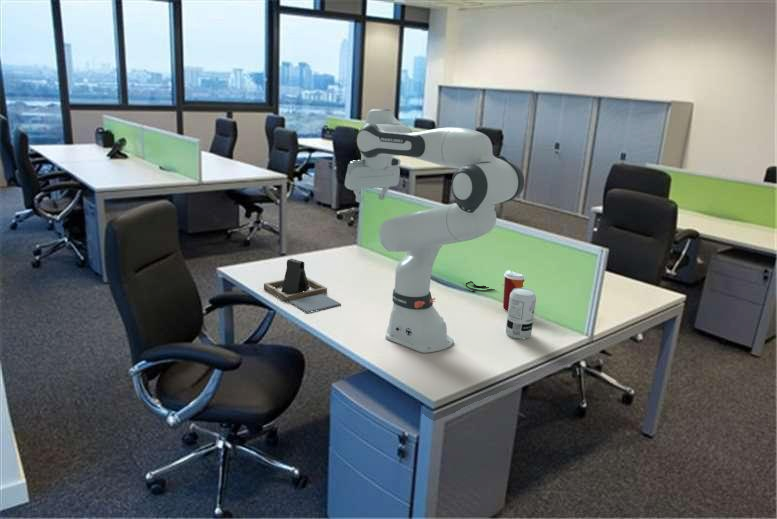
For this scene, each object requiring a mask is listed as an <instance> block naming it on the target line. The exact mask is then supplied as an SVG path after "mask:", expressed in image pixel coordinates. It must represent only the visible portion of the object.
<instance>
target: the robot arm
mask: <svg viewBox="0 0 777 519" xmlns="http://www.w3.org/2000/svg"><path fill="white" fill-rule="evenodd" d="M355 139H356V142H355V143H356V146H357V149H358V150H359V152H360V153H361V156H360V158H361V159H358V160H351V161H350V162H349V163H348V165H347V169H346V173H345V179H344V187H345V188H346V189H348V190H350V191H353V194H354V195H355V202H357V203H362V202H363V199H364V198H363V196H361V194H360V193H361V192H362V190H366V189H367V190H368V189H378V188H379V189H380V188H381V191H380V193H378V197H377V198H378V200H380V201H383V200H385V199H386V195H387V193H388V192H389V189H390V188H391V187H396V186H398V184H399V182H400V173H401V169H400V167H399V166H401V159H399V158H398V156H399V157H400V156H402V157H409V158H413V159H417V160H421V161H424V162H428V163H431V164H435V165H439V166H442V167H447V168H451V169H452V168H453V169H457V170H456V171H455V172H454V173H453V175H452V179H451V184H450V186H451V193H452V195H453V199H454V201H455V203H454V202H453V203H450V204H449V203H448V204H447V205H446V204H445V205H442V206H438V207H433V208H429V209H424V210H420V211H414V212H409V213H404V214H401V215H397V216H394V217H390V218H388V219H386V220H384V221H383V222H382V223H381V224H380V227H379V230H378V238H379V239H378V240H379V242H380V244H381V245H382V247H383V249H385V251H387V252H392V253H405V255H404V256H403V258H401V259H400V260H399V262H398V263H397V265H396V267H395V272H394V273H395V276H394V288H393V291H392V295H391V296H392V302H393V303H392V307H391V311H390V317H389V322H388V326H387V329H386V334H385V339H386V340H389V341H390V342H391V341H392V342H394V343H396V344H398V345H401V346H404V347H407V348H410V349H411V350H414V351H417V352H419V353H423V354H424V353H435V352H439V351H440V352H441V351H442V350H446V349H447V348H450V347H452V346H453V345H454V343H455V342H454V341H455V339H453V338H452V337H451V336H450V335H448V334H447V332H448V330H447V329H448V328H447V324H446V322H445V320H444V318H443V316H441V314H439V312H438V311H437V309H436V308H435V306H434V303H435V302H436V297H434V298H433V297H432V292H431V291H430V290H431V279H432V271H433V266H434V264H435V262H436V260H437V256H438V254H439V252H440V251H441V248H442V247H443V246H445V245H450V244H455V243H456V244H457V243H462V242H467V241H470V240H475V239H478V238H481V237H483V236H484V235H487V234H489V233H490V232H492V231H493V230H494V229H495V227H496V224H497V212H496V210H495V207H496V204H500V203H504V202H505V203H507V202H510V201H512V200H514V199H516V198H518V197H519V196H520V195H521V194H522V192H523V191H524V187H525V176H524V173H523V171H522V170H521V168H520V167H519V166H517V165H516V164H514V163H513V162H511V161H509V159H507V158H506V157H505V156H503V155H498V156H495V155H494V154H493V144H492V141H491V139H490V138H489V136H488V135H486V134H485V133H483V132H480V131H477V130H474V129H471V128H467V127H466V128H465V127H459V126H446V127H445V126H444V127H439V128H438V127H437V128H432V129H431V128H430V129H427V130H426V129H425V130H421V131H414V132H413V131H412V130H411V128H410V127H409V126H408V125H405V124H403V123H402V122H401V121H400V120H398V119H397V118H396V117H395V115H394V113H393V111H392V110H390V109H389V108H388V109H387V108H373V109H370V110H368V112H367V114H366V117H365V121H364V125H362V126H361V127H360V129H359V131H358V132H357V134H356V138H355Z"/></svg>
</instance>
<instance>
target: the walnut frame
mask: <svg viewBox="0 0 777 519" xmlns="http://www.w3.org/2000/svg"><path fill="white" fill-rule="evenodd" d="M306 278H307V282H308V286H309V287H311V288H313V289H309V290H307V291H304V292H300V293H295V294H286V293H283V292H281V291H282V290H280V289H278V288H279V287H283V282H284V279H281V280H275V281H270V282H264V283H263V289H264V290H265V289H266V290H265V291H267V292H269V293H270V292H271V293H270V294H272V295H274V296H275V295H276V296H275V297H277V296H278V297H277V298H279V300H280V299H281V300H282V301H283V302H285V301H286V303H288V302H287V301H290V300H295V299H300V298H304V297H309V296H313V295H318V294H324V295H326V294H328V287H326V286H324V285H323V284H320V283H319V282H316V281H314V280H313V279H311V278H308V277H307V276H306ZM274 287H275V288H274Z"/></svg>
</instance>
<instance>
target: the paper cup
mask: <svg viewBox="0 0 777 519" xmlns="http://www.w3.org/2000/svg"><path fill="white" fill-rule="evenodd" d="M510 270H511V269H508V270H506V271H505V272H504V274H503V277H504V284H503V302H502V303H503V305H502V309H503V308H504V309H505V310H507V311H506V312H508V307H509V299H510V293H511V292H512V291H513V289H515V288H522V287H523V288H524V286H523V282H524V283H525V280H526V279H525V278H524V275H522V274H519V273H516V272H513V271H512V272H511V271H510ZM524 279H525V280H524ZM504 309H503V310H504ZM505 310H504V311H505Z"/></svg>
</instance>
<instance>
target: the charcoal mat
mask: <svg viewBox="0 0 777 519" xmlns="http://www.w3.org/2000/svg"><path fill="white" fill-rule="evenodd" d="M289 302H290V303H289ZM289 302H288V303H289V304H291V303H292V304H291V305H293V306H294V305H295V306H294V307H296V306H297V307H299V308H300V309H299V308H298V309H299V310H301V309H302V310H303V311H302V310H301V311H302V312H304V311H305V312H304V313H306V312H307V313H306V314H309V313H308V312H311V311H315V312H317V311H316V310H319V311H322V310H321V309H323V310H327V309H331V308H330V307H332V308H334V306H336V307H339V305H340V306H341V305H342V303H341V302H339V301H338V300H337V301H336V300H335V299H333V298H332V297H329V296H327V295H326V294H318V295H313V296H309V297H304V298H300V299H295V300H290V301H289ZM297 307H296V308H297ZM326 308H327V309H326ZM311 313H312V312H311Z"/></svg>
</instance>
